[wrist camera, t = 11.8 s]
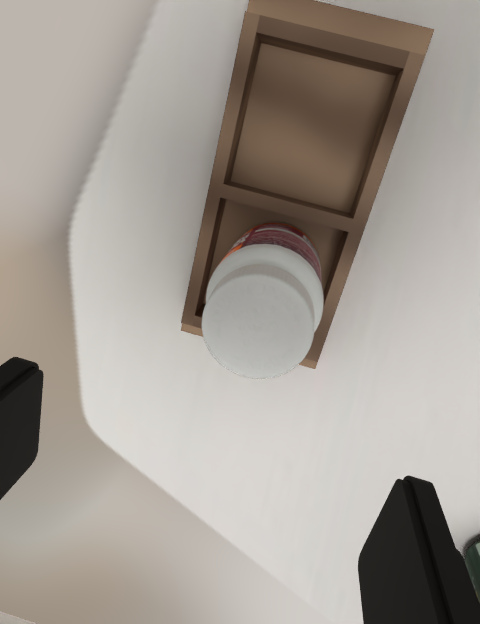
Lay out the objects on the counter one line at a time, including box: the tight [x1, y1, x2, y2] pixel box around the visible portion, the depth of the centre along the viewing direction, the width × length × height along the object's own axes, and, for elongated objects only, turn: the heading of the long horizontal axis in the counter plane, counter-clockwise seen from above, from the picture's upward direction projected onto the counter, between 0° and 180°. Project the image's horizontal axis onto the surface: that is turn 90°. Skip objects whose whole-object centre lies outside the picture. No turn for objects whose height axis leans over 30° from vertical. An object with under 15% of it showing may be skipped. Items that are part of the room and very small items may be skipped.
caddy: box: [181, 0, 434, 369], centre depth 28 cm, size 22×10×4 cm, turn 166°
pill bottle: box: [202, 222, 324, 379], centre depth 25 cm, size 6×6×11 cm
